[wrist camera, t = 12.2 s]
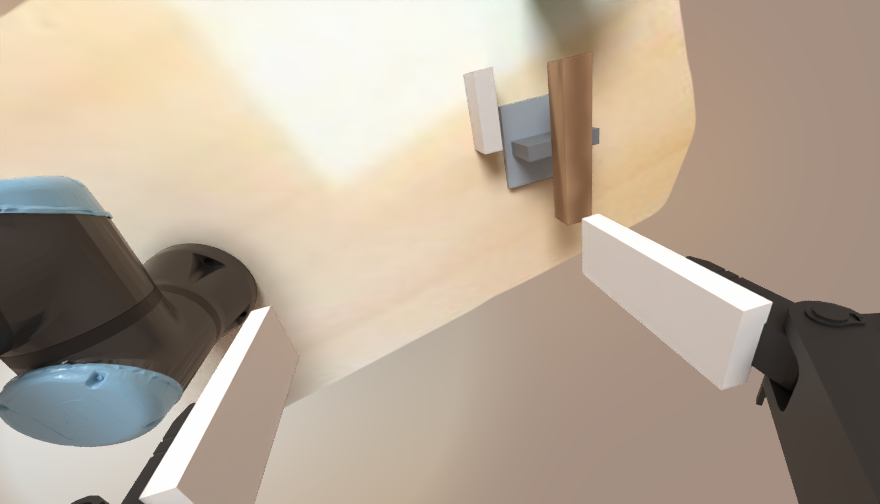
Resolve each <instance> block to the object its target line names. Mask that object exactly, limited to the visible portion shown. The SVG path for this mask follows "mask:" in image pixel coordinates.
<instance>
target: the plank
mask: <svg viewBox="0 0 880 504" xmlns="http://www.w3.org/2000/svg"><path fill="white" fill-rule="evenodd" d="M547 69H548V88H549V107H550V127H551V146H552V165H553V185H554V204H555V217H556V218H557V219H559V220H560V221H562V222H563V223H565V224H566V225H571V224H575V223H578V222H582V218H586V217H589V216H592V52H590V53H585V54H581V55H577V56H572V57H568V58H564V59H560V60H556V61H552V62H548V63H547Z"/></svg>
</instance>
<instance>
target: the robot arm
mask: <svg viewBox="0 0 880 504" xmlns="http://www.w3.org/2000/svg"><path fill="white" fill-rule="evenodd" d="M112 218H113V217H112V216H111V214H110V213H108V212H106V211H105V210H104V209H103V208H102V207H101V205H100V204H99V203H98V201H97V200H96V199H95V197H94V196H93V195H92V193H91V192H90V191H89V190H88V188H87V187H86V186H84V185H83V184H82V183H80V182H78V181H76V180H74V179H71V178H68V177H63V176H37V177H25V178H13V179H3V180H0V359H1V360H2V361H3V362H4V363H5V364H6V365H7V366H8V367H9V368H10V369H12V370H13V371H14V372H15V373H16V374H17V376H16V377H14V378H13V379H11V380H10V381H9V382H8V383H7V384H6V385H5V386H4V388H3V391H2V392H1V393H0V417H1V418H2V419H3V420H4V422H5V423H7V424H8V425H9V426H10V427H12V428H13V429H15V430H16V431H18V432H20V433H22V434H25V435H27V436H29V437H32V438H35V439H38V440H41V441H45V442H49V443H53V444H59V445H68V446H69V445H70V446H79V447H96V446H106V445H113V444H118V443H123V442H126V441H130V440H132V439H135V438H138V437H140V436H141V435H144V434H146V433H147V432H149V431H150V430H152V429H153V428H154V427H156V426H157V425H158V424H159V423H160V422H161V421H162V419H163V418H164V417H165V415H166V414H167V413H168V412H169V410H170V409H171V408H172V407H173V405H174V404H176V403H177V402H178V401H179V400H180V398H181V396H182V394H183V392H184V391H185V389H186V388H187V386H188V385H189V383H190V382H191V380H192V378H193V377H194V375H195V374H196V372H197V371H198V369H199V368H200V366H201V365H202V363H203V361H204V360H205V358H206V357H207V355H208V354H209V352H210V351H211V349H212V347H213V346H214V344H215V343H216V341H217V340H219V339H220V338H222V337H223V336H225V335H226V334H228V333H229V332H231V331H232V330H234V329H235V328H237V327H238V326H239V325H240V324H242V323H243V322H244V320H245V319H246V318H247V317H248V318H247V319H246V321H245V323H244V324H243V326H242V328H241V329H240V331H239V333H238V334H237V336H236V338H235V339H234V341H233V343H232V344H231V346H230V348H229V349H228V351H227V353H226V354H225V356H224V358H223V359H222V361H221V363H220V364H219V366H218V368H217V369H216V371H215V373H214V374H213V376H212V378H211V379H210V381H209V383H208V384H207V386H206V387H205V389H204V391H203V392H202V394H201V396H200V397H199V399H198V401H197V402H196V403H192V404H190V405H189V406H188V407H187V408H186V409H185V410H184V411H183V412H182V413H181V414H180V415H179V416H178V417H177V418H176V419H175V421H174V422H173V423H172V425H171V426H170V428H169V430H168V431H167V433H166V434H165V436H164V438H163V442H160V444H159V445H158V447H157V448H156V450H155V452H154V453H153V454H154V456H153V457H151V458H150V459H149V461H148V463H147V464H146V466H145V467H144V469H143V470H142V472H141V474H140V475H139V477H138V478H137V480H136V481H135V483H134V485H133V486H132V488H131V489H130V491H129V492H128V494H127V496H126V497H125V499H124V500H123V502H122V503H121V504H255V500H256V497H257V494H258V490H259V487H260V484H261V480H262V477H263V474H264V471H265V467H266V464H267V461H268V457H269V454H270V451H271V448H272V445H273V441H274V438H275V435H276V431H277V428H278V425H279V422H280V418H281V415H282V412H283V409H284V405H285V402H286V399H287V395H288V392H289V389H290V386H291V382H292V379H293V376H294V373H295V369H296V366H297V363H298V359H299V354H298V352H297V351H296V349H295V347H294V345H293V344H292V342H291V340H290V338H289V337H288V335H287V333H286V331H285V330H284V328H283V326H282V324H281V323H280V321H279V319H278V317H277V316H276V314H275V312H274V310H273V309H272V307H271V306H268V307H264V308H261V309H257V310H254V311H251V310H252V309H253V307H254V305H255V302H256V297H257V290H256V284H255V281H254V279H253V277H252V275H251V274H250V272H249V271H248V269H247V268H246V267H245V266H244V265H243V264H242V263H241V262H240V261H239V260H237V259H236V258H235V257H233V256H232V255H230V254H228V253H226V252H224V251H222V250H220V249H217V248H214V247H211V246H207V245H201V244H180V245H175V246H171V247H169V248H166V249H164V250H162V251H160V252H159V253H157V254H156V255H154V256H153V257H152V258H150V259H149V260H148V261H146V262H145V263H144V265H142V264H141V262H140V261H139V259H138V258H137V256H136V255H135V253H134V252H133V251H132V249H131V248H130V246H129V245H128V243H127V242H126V241H125V239H124V238H123V236H122V235H121V233H120V232H119V230H118V229H117V228H116V226H115V225H114V223H113V222H112V220H111V219H112ZM582 273H583V274H584V275H585V276H586V277H587V278H589V279H590V280H591V281H592V282H593V283H594V284H596V285H597V286H598V287H599V288H600V289H602V290H603V291H604V292H605V293H606V294H607V295H609V296H610V297H611V298H612V299H613V300H615V301H616V302H617V303H618V304H619V305H621V306H622V307H623V308H624V309H626V310H627V311H628V312H629V313H630V314H632V316H634V317H635V318H636V319H637V320H638V321H640V322H641V323H642V324H643V325H645V326H646V327H647V328H648V329H649V330H650V331H652V332H653V333H654V334H655V335H656V336H658V337H659V338H660V339H661V340H663V342H665V343H666V344H667V345H668V346H670V347H671V348H672V349H673V350H674V351H675V352H677V353H678V354H679V355H681V356H682V357H683V358H684V359H685V360H686V361H687V362H689V363H690V364H691V365H692V366H693V367H695V368H696V369H697V370H698V371H699V372H701V373H702V374H703V375H704V376H705V377H706V378H708V379H709V380H710V381H711V382H712V383H714V384H715V385H716V386H717V387H718V388H720V389H721V390H724V389H727V388H730V387H733V386H736V385H739V384H742V383H745V382H747V380H748V377H749V373H750V370H751V367H752V366H753V367H755V368H756V369H758V370H759V371H761V372H762V373H763V374H765V376H764V378H763V381H762V384H761V387H760V389H759V392H758V395H757V399H756V404H757V405H762V404H763V401H764V398H765V397H767V400H768V404H769V407H770V410H771V414H772V417H773V420H774V424H775V427H776V430H777V433H778V437H779V440H780V443H781V446H782V450H783V453H784V457H785V460H786V463H787V466H788V470H789V473H790V476H791V479H792V483H793V486H794V489H795V493H796V496H797V499H798V503H799V504H880V313H873V314H859V313H857V312H855V311H853V310H852V309H849V308H846V307H843V306H839V305H836V304H832V303H827V302H821V301H801V302H797V303H794V302H792V301H790V300H788V299H786V298H784V297H782V296H780V295H777V294H775V293H773V292H771V291H769V290H767V289H765V288H763V287H761V286H759V285H757V284H754V283H753V282H750V281H748V280H746V279H744V278H739V276H738V275H736V274H734V273H732V272H730V271H725V269H724V268H722V267H719V266H717V265H715V264H713V263H711V262H709V261H706V260H702V259H698V258H694V257H691V256H687V257H683V256H681V255H679V254H677V253H675V252H673V251H671V250H669V249H667V248H665V247H663V246H661V245H659V244H657V243H655V242H653V241H651V240H649V239H647V238H645V237H643V236H641V235H639V234H637V233H635V232H634V231H632V230H630V229H628V228H626V227H624V226H622V225H620V224H618V223H616V222H614V221H612V220H610V219H608V218H606V217H604V216H602V215H600V214H596V215H593V216H589V217H586V218H582ZM250 312H251V313H250ZM248 315H249V316H248ZM71 504H109V503H108V502H106V501H105V500H104V499H102V498H101V497H100V496H87V497H85V498H82V499H79V500H77V501H75V502H73V503H71Z"/></svg>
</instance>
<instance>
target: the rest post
mask: <svg viewBox="0 0 880 504" xmlns="http://www.w3.org/2000/svg"><path fill="white" fill-rule="evenodd" d="M463 76H464V82H465V89H466V95H467V101H468V107H469V114H470V120H471V126H472V132H473V139H474V145H475V150H477V151H479V152H481V153H483V154H489V153H493V152H497V151H501V150H503V147H502V139H501V131H500V123H499V114H498V106H497V98H496V90H495V81H494V73H493V67H490V68H486V69H482V70H478V71H474V72H470V73H467V74H464V75H463Z"/></svg>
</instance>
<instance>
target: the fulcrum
mask: <svg viewBox="0 0 880 504" xmlns="http://www.w3.org/2000/svg"><path fill="white" fill-rule="evenodd" d="M498 111H499V120H500V128H501V136H502V145H503V153H504V161H505V169H506V178H507V186H508V188H510V189H511V188H515V187H518V186H522V185H526V184H529V183H533V182H537V181H541V180H544V179H548V178H552V177H553V165H552V146H551V127H550V107H549V94H547V95H543V96H539V97H535V98H531V99H527V100H523V101H519V102H515V103H511V104H507V105H503V106H499V107H498ZM596 144H599V128H593V127H592V145H596Z"/></svg>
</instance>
